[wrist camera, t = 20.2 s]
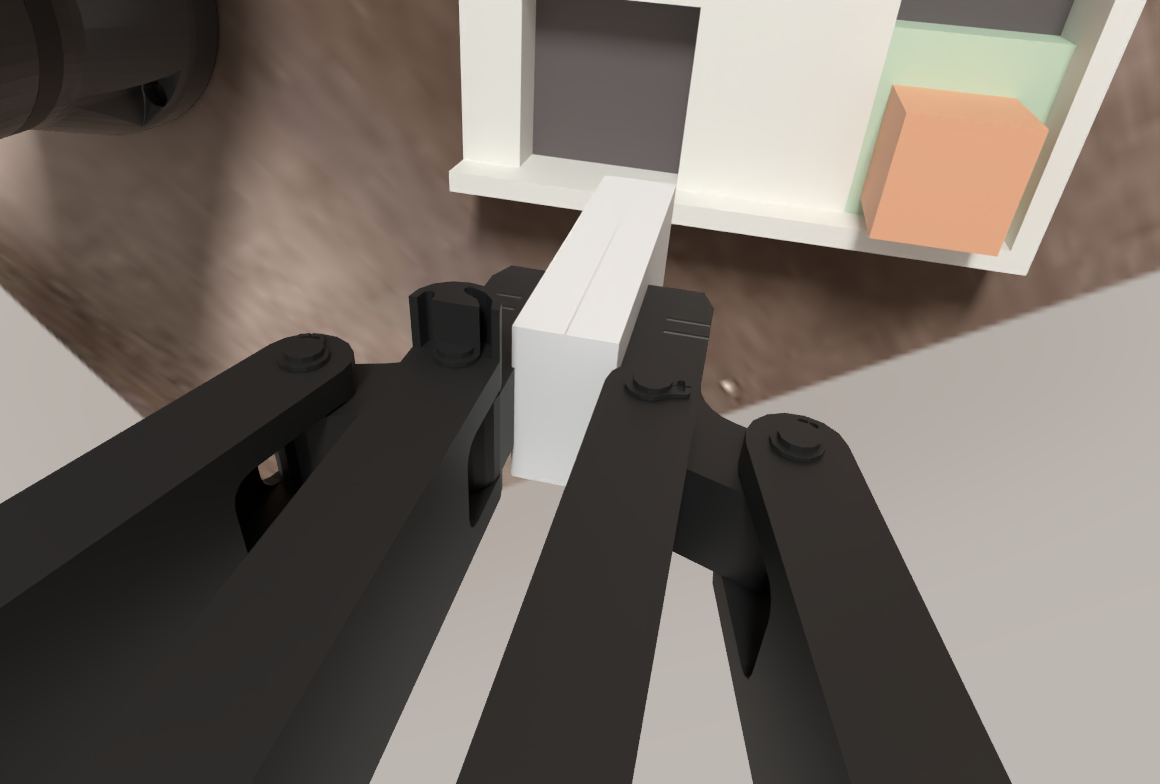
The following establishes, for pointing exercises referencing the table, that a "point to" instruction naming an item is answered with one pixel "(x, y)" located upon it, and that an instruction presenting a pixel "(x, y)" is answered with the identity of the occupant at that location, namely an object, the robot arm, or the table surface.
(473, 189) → the box
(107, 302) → the table surface
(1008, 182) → the block
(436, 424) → the robot arm
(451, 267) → the table surface
